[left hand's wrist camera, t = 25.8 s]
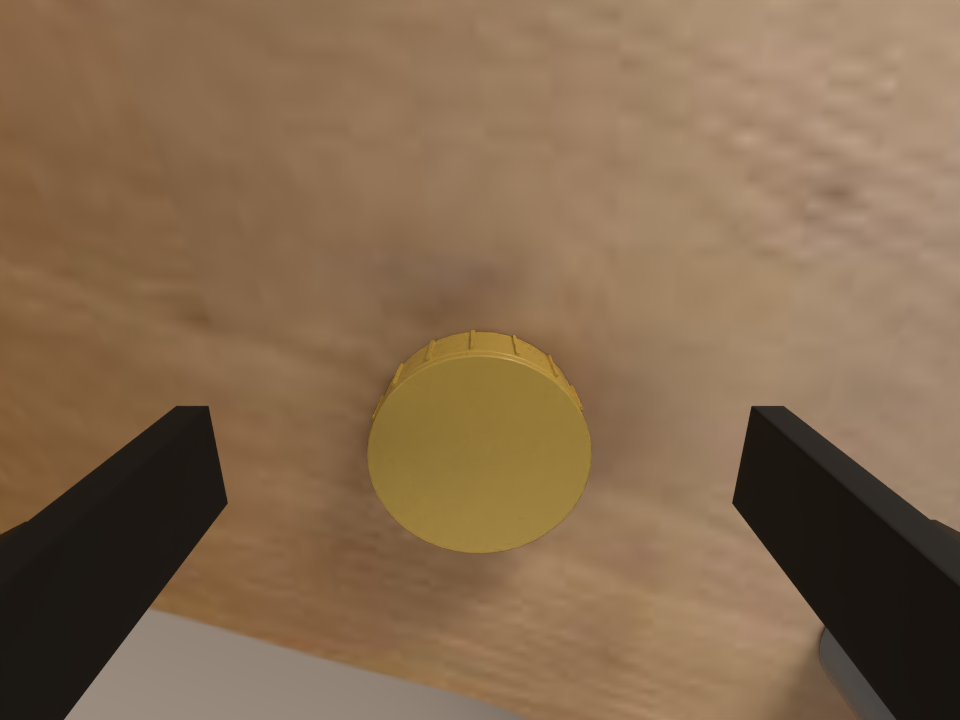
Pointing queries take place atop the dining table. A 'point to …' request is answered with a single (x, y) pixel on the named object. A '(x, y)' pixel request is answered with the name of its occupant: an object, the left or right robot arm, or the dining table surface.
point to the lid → (479, 444)
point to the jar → (850, 681)
